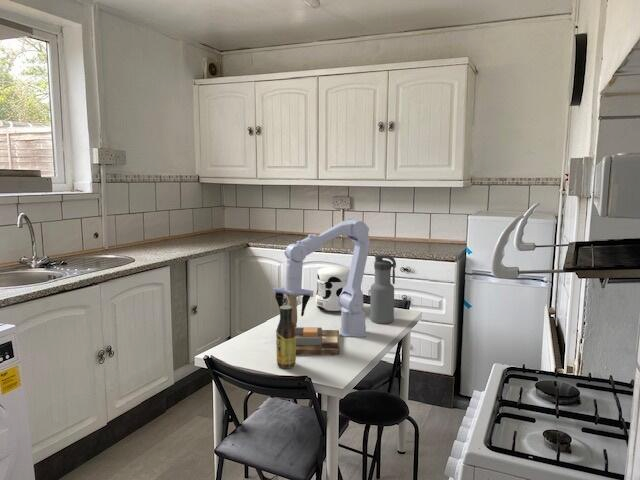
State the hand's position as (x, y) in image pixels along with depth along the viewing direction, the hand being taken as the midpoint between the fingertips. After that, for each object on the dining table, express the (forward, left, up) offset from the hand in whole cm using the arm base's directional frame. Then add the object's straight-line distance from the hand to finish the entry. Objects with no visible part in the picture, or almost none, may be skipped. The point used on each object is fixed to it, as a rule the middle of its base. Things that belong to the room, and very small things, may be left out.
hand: (291, 314), depth 173 cm
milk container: (-16, -43, -11) cm, 48 cm away
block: (-7, +1, -9) cm, 11 cm away
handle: (+1, -17, -11) cm, 21 cm away
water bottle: (-36, -27, -11) cm, 46 cm away
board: (-7, +1, -11) cm, 13 cm away
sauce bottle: (0, +20, -11) cm, 23 cm away
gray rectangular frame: (-4, +1, -9) cm, 10 cm away
